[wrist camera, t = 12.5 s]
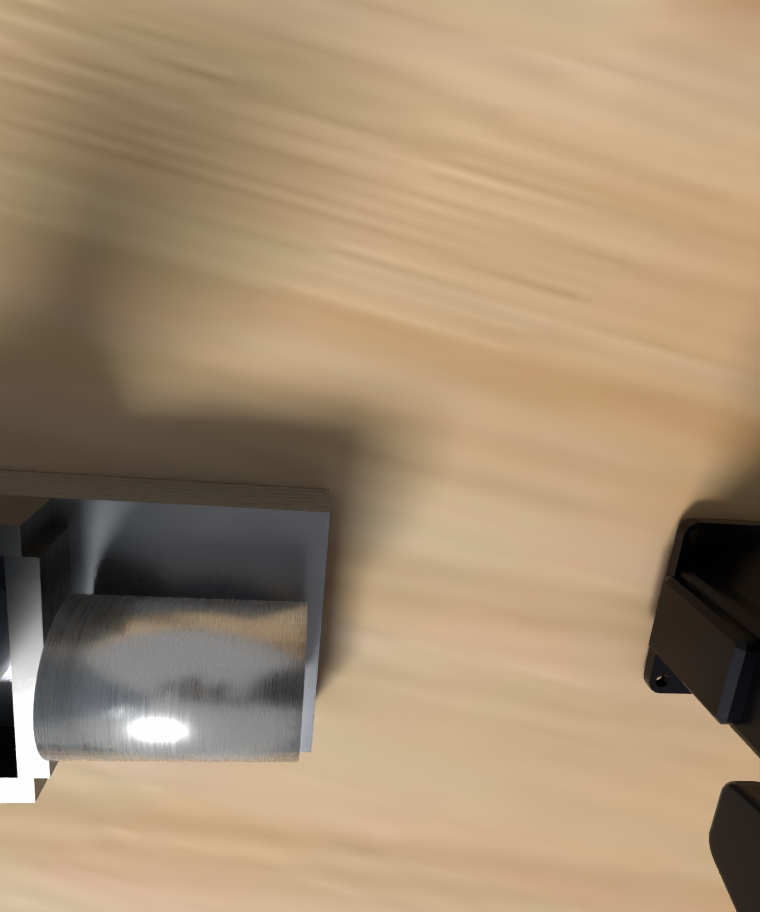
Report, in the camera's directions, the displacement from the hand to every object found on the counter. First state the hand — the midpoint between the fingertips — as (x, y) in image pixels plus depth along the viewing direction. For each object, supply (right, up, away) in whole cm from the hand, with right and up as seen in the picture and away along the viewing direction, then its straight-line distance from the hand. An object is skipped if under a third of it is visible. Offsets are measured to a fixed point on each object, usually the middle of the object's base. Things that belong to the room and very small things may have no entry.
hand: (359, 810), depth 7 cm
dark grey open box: (-9, 0, +13) cm, 16 cm away
